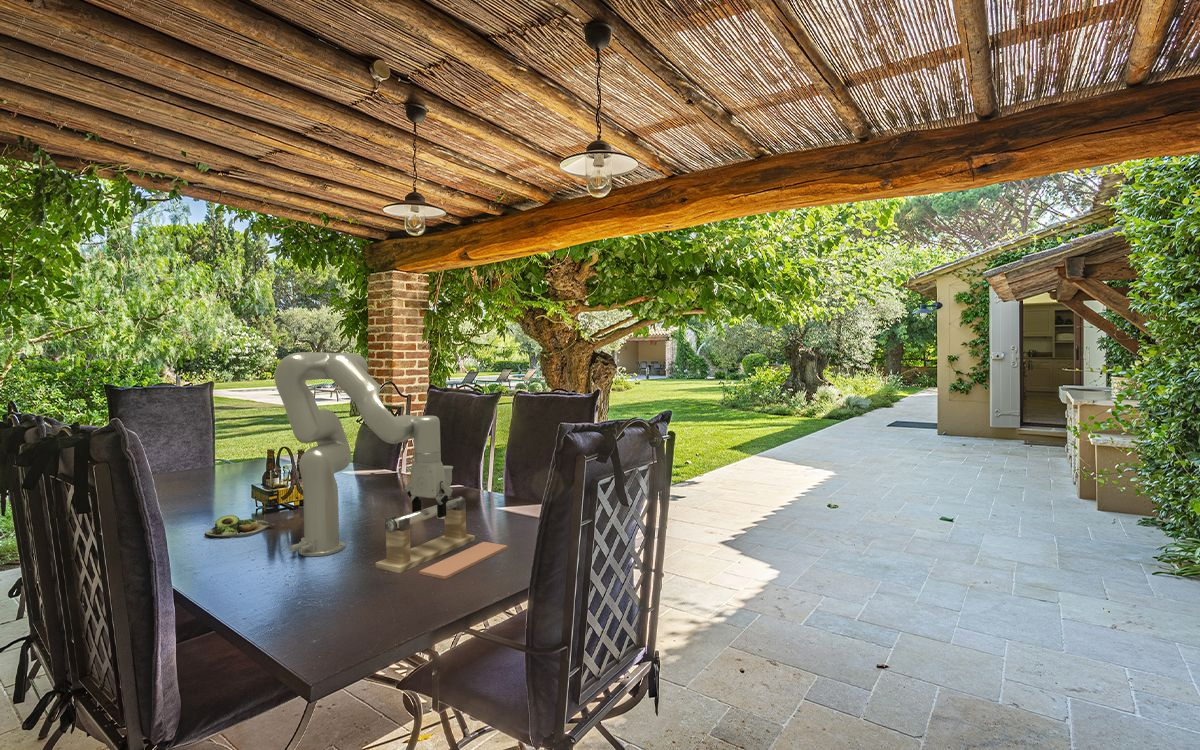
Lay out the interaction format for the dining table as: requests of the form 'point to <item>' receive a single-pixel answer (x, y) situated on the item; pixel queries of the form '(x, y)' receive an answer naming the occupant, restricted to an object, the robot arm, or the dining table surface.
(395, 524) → the steel rail
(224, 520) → the salad plate
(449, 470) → the chalice
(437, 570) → the terracotta mat
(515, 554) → the dining table surface
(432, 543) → the rail stand
